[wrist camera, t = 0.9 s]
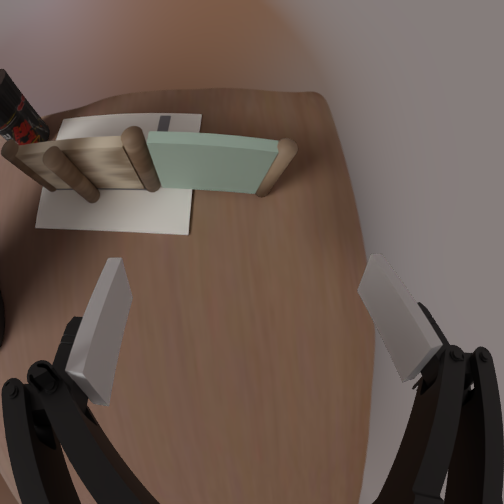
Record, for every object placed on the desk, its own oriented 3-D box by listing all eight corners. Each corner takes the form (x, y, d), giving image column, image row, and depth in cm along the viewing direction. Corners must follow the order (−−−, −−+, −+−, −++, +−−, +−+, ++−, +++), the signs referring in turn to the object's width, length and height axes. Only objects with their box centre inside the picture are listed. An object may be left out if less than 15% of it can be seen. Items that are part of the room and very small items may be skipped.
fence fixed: (44, 203, 29) (-6, 171, 17) (49, 178, 29) (4, 140, 18) (158, 205, 32) (136, 162, 20) (161, 177, 32) (144, 125, 20)
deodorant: (51, 119, 30) (10, 61, 16) (47, 149, 30) (-3, 95, 15) (23, 131, 29) (-21, 81, 15) (19, 161, 29) (-34, 116, 14)
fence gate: (162, 190, 31) (145, 145, 20) (164, 177, 32) (149, 127, 21) (268, 197, 34) (298, 157, 22) (268, 184, 34) (297, 139, 23)
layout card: (36, 228, 29) (34, 227, 28) (64, 120, 31) (63, 118, 30) (188, 235, 32) (188, 234, 32) (201, 115, 34) (201, 114, 34)
